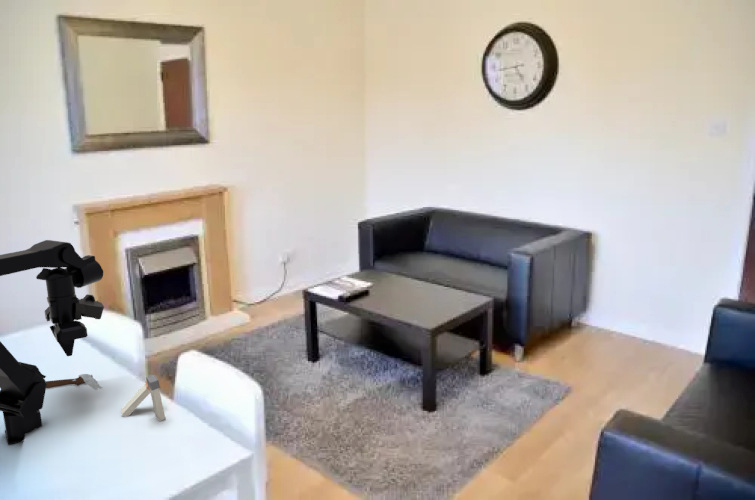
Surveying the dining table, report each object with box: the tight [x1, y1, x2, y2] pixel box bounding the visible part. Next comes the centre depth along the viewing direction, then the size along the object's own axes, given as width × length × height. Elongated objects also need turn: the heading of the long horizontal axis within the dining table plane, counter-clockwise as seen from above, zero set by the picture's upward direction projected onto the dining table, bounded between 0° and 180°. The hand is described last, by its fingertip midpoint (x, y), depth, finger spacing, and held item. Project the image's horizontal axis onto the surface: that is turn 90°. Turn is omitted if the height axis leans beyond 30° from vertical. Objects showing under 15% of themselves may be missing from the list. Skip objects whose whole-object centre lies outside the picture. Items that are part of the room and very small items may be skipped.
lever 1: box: [120, 380, 151, 418], centre depth 141 cm, size 2×3×10 cm
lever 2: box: [145, 373, 166, 422], centre depth 137 cm, size 2×3×10 cm, turn 36°
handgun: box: [45, 373, 103, 391], centre depth 151 cm, size 2×23×12 cm
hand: (69, 355), depth 144 cm, fingers closed
